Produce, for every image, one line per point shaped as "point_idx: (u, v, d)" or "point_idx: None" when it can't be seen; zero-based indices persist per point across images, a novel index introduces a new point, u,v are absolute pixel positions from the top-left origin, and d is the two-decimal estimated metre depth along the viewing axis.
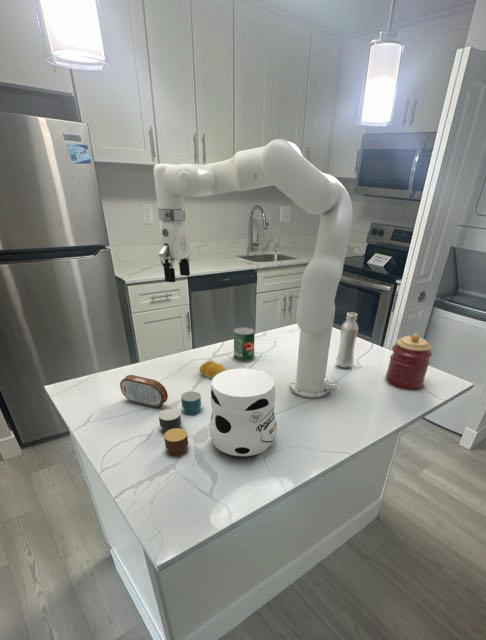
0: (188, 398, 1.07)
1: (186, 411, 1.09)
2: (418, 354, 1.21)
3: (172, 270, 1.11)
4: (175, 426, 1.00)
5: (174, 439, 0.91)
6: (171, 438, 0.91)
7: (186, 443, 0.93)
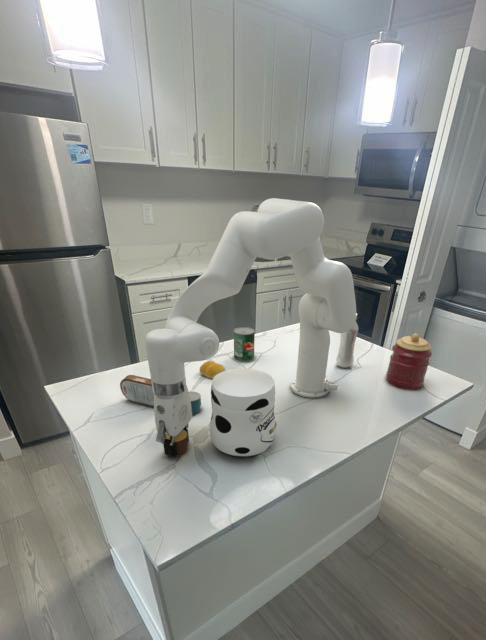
0: None
1: None
2: (418, 354, 1.21)
3: (173, 446, 0.90)
4: None
5: (174, 439, 0.91)
6: None
7: (186, 443, 0.93)
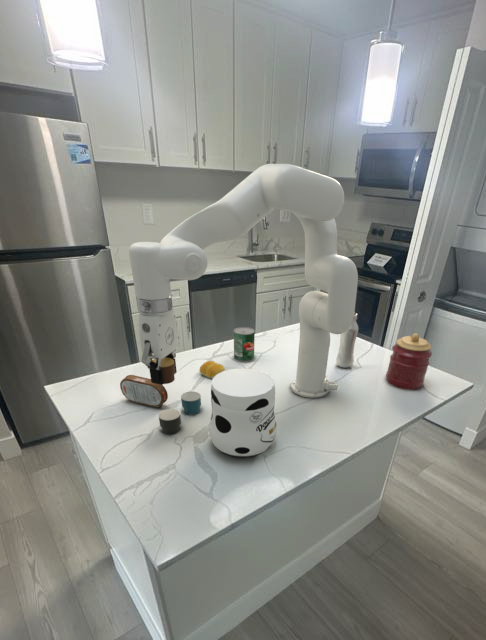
0: (188, 398, 1.07)
1: (186, 411, 1.09)
2: (418, 354, 1.21)
3: (160, 371, 0.88)
4: (175, 426, 1.00)
5: None
6: None
7: (173, 371, 0.91)
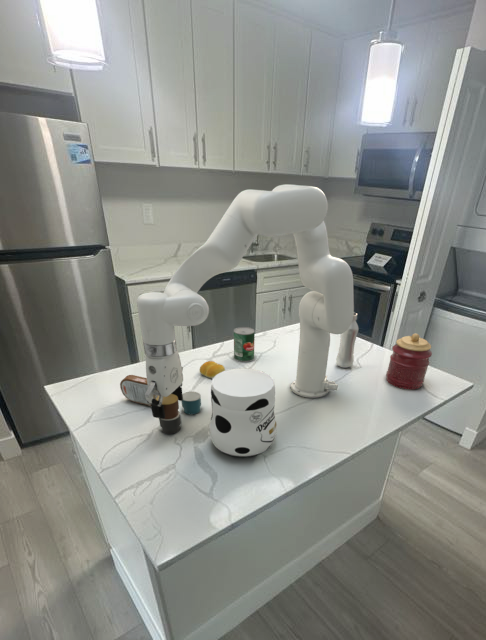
0: (188, 398, 1.07)
1: (186, 411, 1.09)
2: (418, 354, 1.21)
3: (161, 407, 0.93)
4: (175, 426, 1.00)
5: (165, 402, 0.96)
6: (162, 401, 0.96)
7: (177, 407, 0.98)
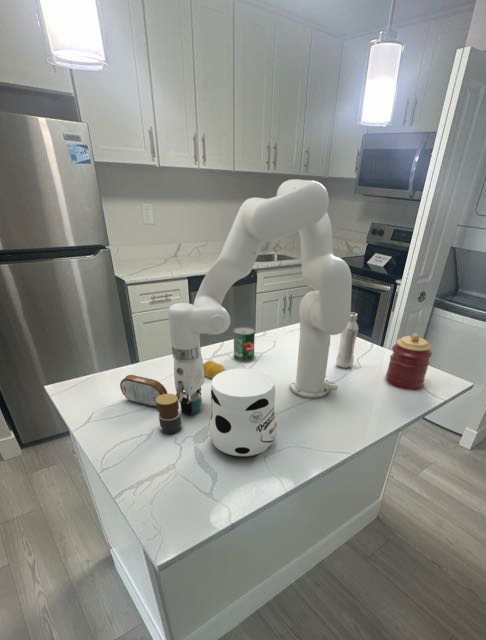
0: None
1: None
2: (418, 354, 1.21)
3: (189, 405, 1.06)
4: (175, 426, 1.00)
5: (165, 402, 0.96)
6: (162, 401, 0.96)
7: (177, 407, 0.98)
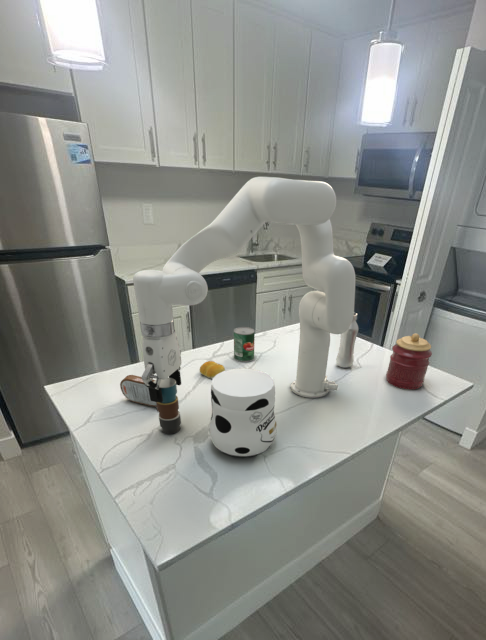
0: (161, 385, 0.93)
1: None
2: (418, 354, 1.21)
3: (158, 390, 0.90)
4: (175, 426, 1.00)
5: None
6: None
7: (177, 407, 0.98)
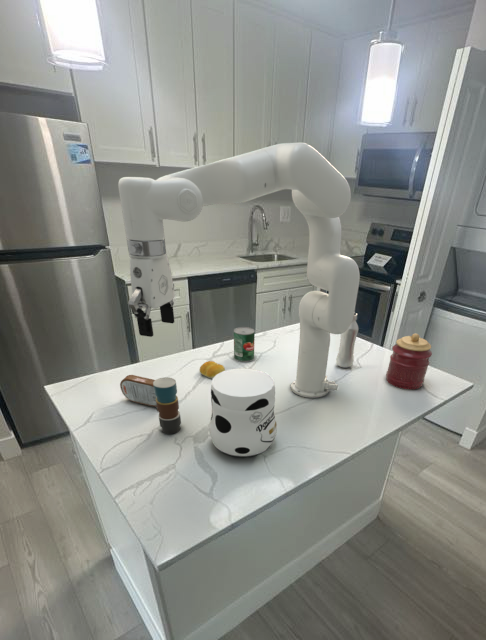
0: (161, 385, 0.93)
1: (159, 400, 0.95)
2: (418, 354, 1.21)
3: (148, 321, 0.81)
4: (175, 426, 1.00)
5: None
6: None
7: (177, 407, 0.98)
